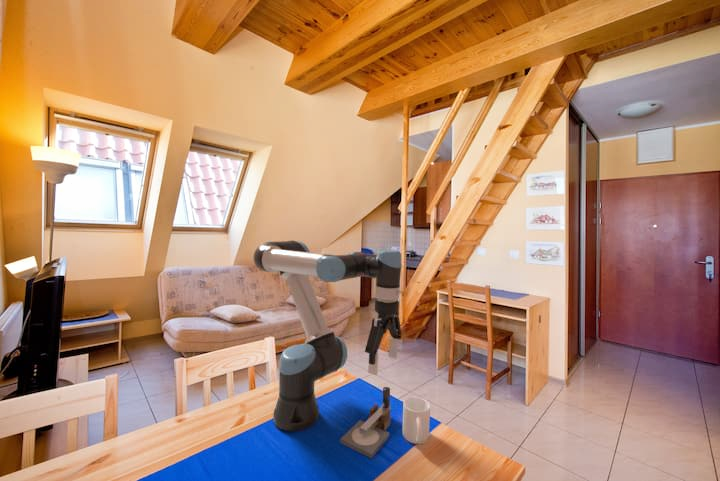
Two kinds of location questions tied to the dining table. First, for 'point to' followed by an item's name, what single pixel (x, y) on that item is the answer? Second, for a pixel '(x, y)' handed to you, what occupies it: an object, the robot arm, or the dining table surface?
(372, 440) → the dock pad
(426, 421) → the mug
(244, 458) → the dining table surface
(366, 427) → the crank handle
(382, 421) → the mount
